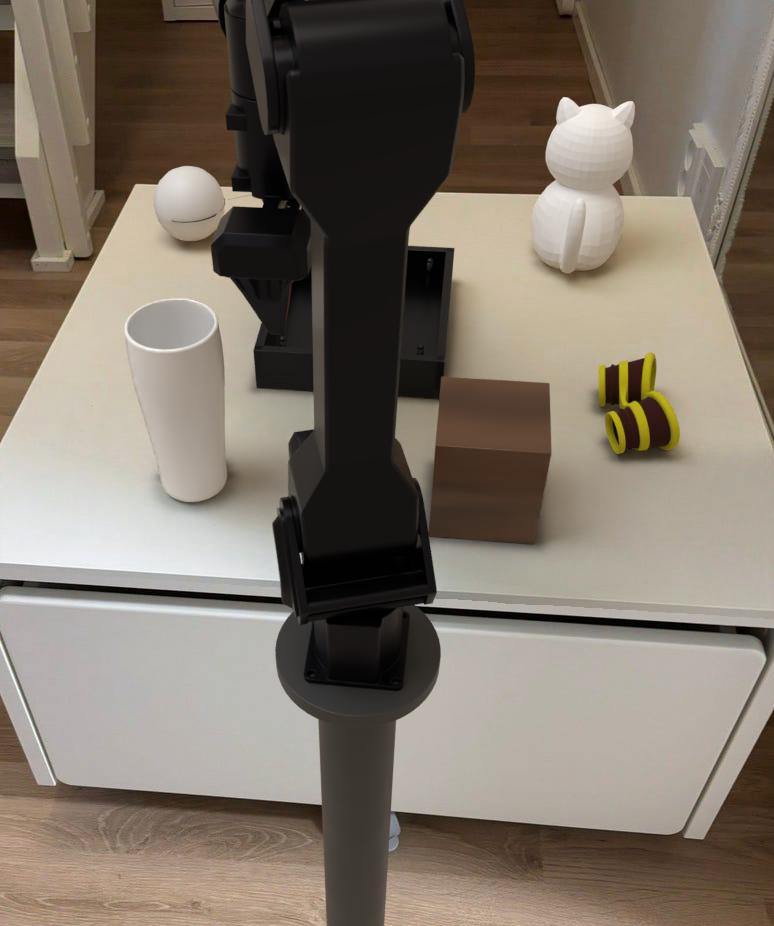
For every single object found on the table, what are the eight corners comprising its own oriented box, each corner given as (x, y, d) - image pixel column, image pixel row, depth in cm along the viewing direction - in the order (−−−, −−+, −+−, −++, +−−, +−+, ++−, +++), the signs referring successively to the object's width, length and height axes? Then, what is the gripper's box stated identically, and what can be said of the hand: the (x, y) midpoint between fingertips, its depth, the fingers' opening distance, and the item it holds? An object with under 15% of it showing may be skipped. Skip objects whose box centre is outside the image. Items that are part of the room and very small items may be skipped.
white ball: (155, 256, 106) (144, 188, 101) (162, 220, 111) (152, 153, 105) (251, 254, 106) (246, 186, 100) (254, 217, 111) (249, 151, 105)
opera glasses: (593, 397, 90) (591, 350, 86) (655, 387, 89) (656, 339, 86) (612, 470, 84) (612, 423, 80) (679, 460, 83) (682, 412, 79)
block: (534, 544, 77) (551, 453, 70) (427, 536, 78) (435, 445, 71) (533, 473, 82) (549, 382, 76) (433, 466, 83) (441, 375, 77)
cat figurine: (616, 231, 107) (647, 83, 96) (616, 297, 99) (650, 143, 88) (529, 224, 109) (550, 78, 97) (522, 288, 100) (544, 137, 89)
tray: (441, 399, 89) (445, 361, 86) (256, 388, 91) (253, 350, 88) (451, 284, 101) (454, 247, 98) (287, 276, 103) (285, 239, 100)
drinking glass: (157, 456, 85) (128, 297, 74) (238, 454, 85) (222, 295, 74) (148, 513, 80) (116, 353, 69) (234, 511, 80) (216, 350, 69)
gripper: (388, 156, 58) (382, 380, 70) (411, 31, 71) (403, 239, 82) (197, 148, 59) (222, 370, 71) (252, 26, 72) (266, 232, 83)
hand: (286, 298), depth 77 cm, fingers open, 9 cm apart
